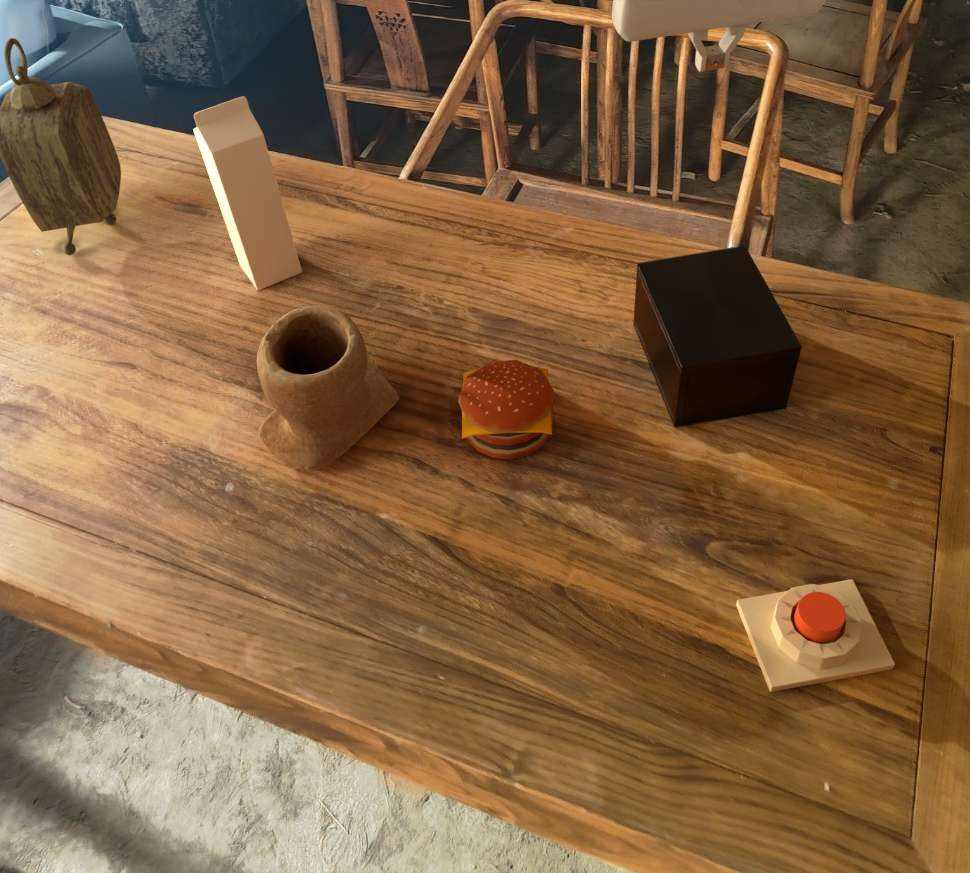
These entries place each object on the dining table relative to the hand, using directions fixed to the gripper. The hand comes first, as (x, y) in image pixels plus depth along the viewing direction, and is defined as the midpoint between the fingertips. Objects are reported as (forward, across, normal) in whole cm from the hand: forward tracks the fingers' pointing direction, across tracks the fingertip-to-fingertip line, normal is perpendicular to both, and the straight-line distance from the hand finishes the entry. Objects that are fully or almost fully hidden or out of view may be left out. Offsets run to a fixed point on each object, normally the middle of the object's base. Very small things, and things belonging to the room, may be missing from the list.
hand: (711, 67), depth 93 cm
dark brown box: (+23, -4, -18) cm, 30 cm away
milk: (+23, -50, +9) cm, 56 cm away
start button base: (+23, -6, -52) cm, 57 cm away
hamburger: (+23, -26, -22) cm, 42 cm away
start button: (+20, -6, -52) cm, 55 cm away
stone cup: (+23, -43, -19) cm, 52 cm away
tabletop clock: (+23, -73, +24) cm, 80 cm away
